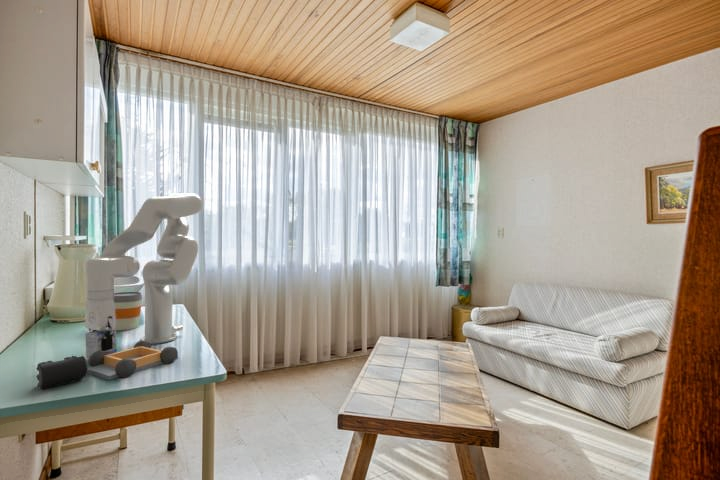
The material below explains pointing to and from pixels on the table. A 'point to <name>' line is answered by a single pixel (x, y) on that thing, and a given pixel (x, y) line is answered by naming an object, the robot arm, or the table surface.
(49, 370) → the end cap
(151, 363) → the chassis
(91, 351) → the medicine box
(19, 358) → the table surface
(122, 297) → the reusable coffee cup
